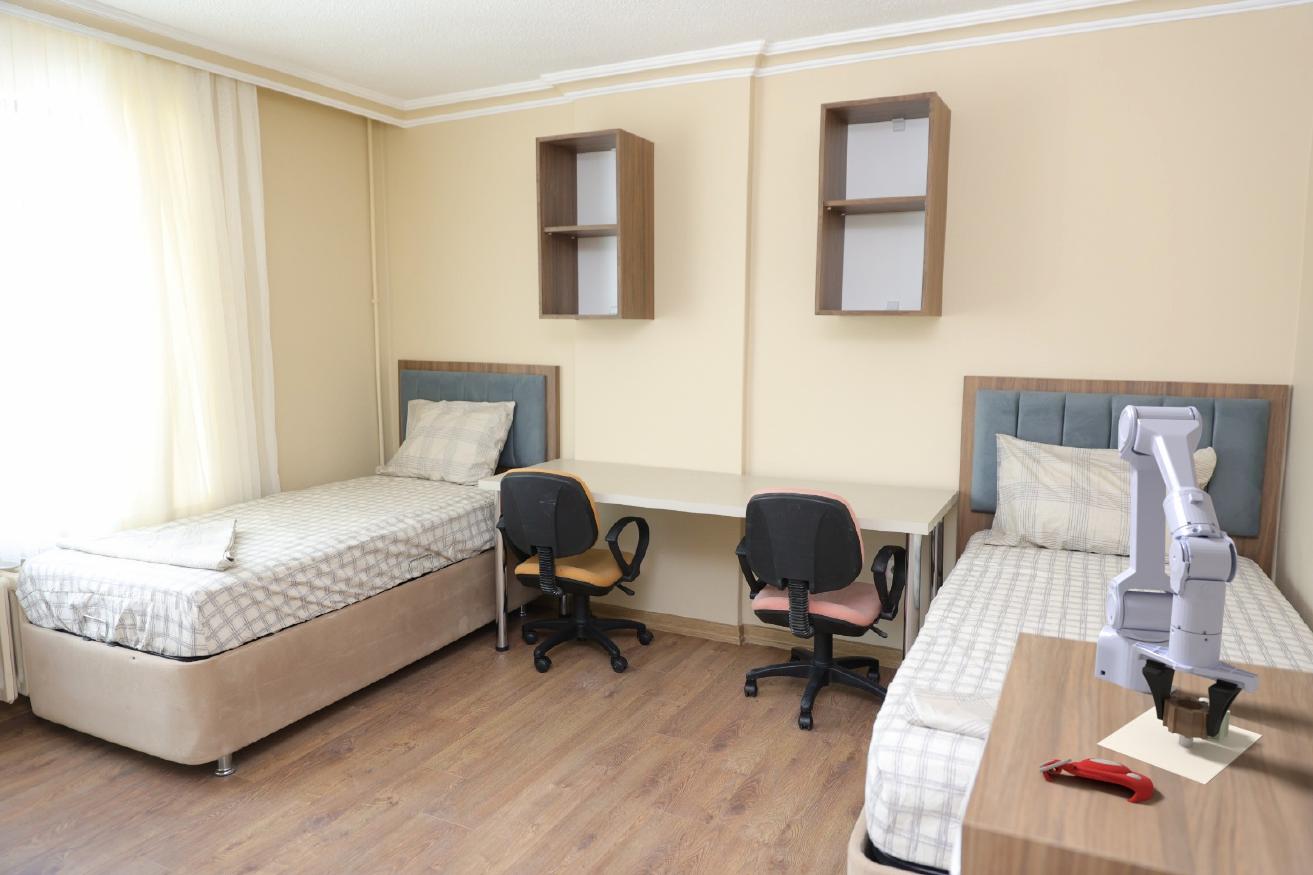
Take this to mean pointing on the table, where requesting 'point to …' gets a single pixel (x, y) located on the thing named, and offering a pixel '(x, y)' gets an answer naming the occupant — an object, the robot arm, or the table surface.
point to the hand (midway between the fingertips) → (1187, 725)
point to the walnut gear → (1186, 716)
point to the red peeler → (1103, 774)
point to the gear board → (1180, 746)
